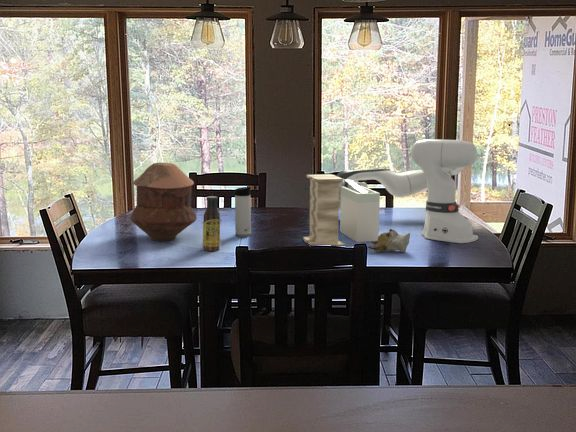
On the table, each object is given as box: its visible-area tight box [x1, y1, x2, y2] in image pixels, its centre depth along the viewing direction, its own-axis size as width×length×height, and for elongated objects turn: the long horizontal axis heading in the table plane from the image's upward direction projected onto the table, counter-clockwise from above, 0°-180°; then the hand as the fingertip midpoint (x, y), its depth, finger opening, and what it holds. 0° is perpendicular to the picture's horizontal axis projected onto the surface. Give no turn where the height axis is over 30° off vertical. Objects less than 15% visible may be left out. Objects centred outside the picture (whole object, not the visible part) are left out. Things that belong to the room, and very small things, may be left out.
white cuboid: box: [339, 186, 381, 243], centre depth 262 cm, size 20×9×19 cm, turn 14°
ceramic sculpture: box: [367, 228, 411, 253], centre depth 238 cm, size 11×9×15 cm
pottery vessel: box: [130, 162, 197, 242], centre depth 255 cm, size 26×26×30 cm
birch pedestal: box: [302, 173, 346, 247], centre depth 248 cm, size 16×12×26 cm
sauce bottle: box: [202, 195, 221, 252], centre depth 238 cm, size 7×6×20 cm
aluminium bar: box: [343, 179, 368, 193], centre depth 265 cm, size 22×3×2 cm, turn 14°
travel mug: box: [234, 186, 252, 238], centre depth 262 cm, size 6×7×20 cm
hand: (349, 182), depth 271 cm, fingers closed on aluminium bar, 3 cm apart
